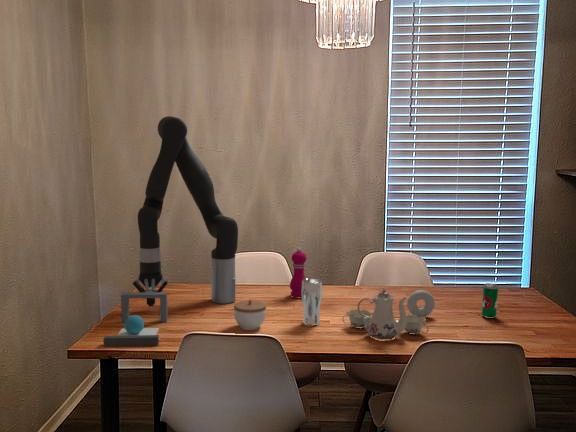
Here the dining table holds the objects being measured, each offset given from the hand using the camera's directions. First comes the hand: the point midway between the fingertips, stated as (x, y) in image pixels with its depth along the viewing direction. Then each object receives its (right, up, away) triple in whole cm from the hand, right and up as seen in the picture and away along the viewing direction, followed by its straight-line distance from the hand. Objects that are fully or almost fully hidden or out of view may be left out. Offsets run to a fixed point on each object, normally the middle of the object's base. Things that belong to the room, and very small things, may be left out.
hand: (151, 305), depth 201 cm
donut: (+98, -4, -5) cm, 98 cm away
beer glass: (+58, -4, -13) cm, 60 cm away
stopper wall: (+3, -6, -35) cm, 36 cm away
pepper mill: (+55, 0, +21) cm, 58 cm away
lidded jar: (+38, -5, -18) cm, 42 cm away
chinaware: (+82, -6, -23) cm, 85 cm away
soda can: (+123, -4, -4) cm, 123 cm away
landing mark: (+2, -5, -26) cm, 27 cm away
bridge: (+1, -3, -13) cm, 13 cm away
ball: (+1, -2, -26) cm, 26 cm away
